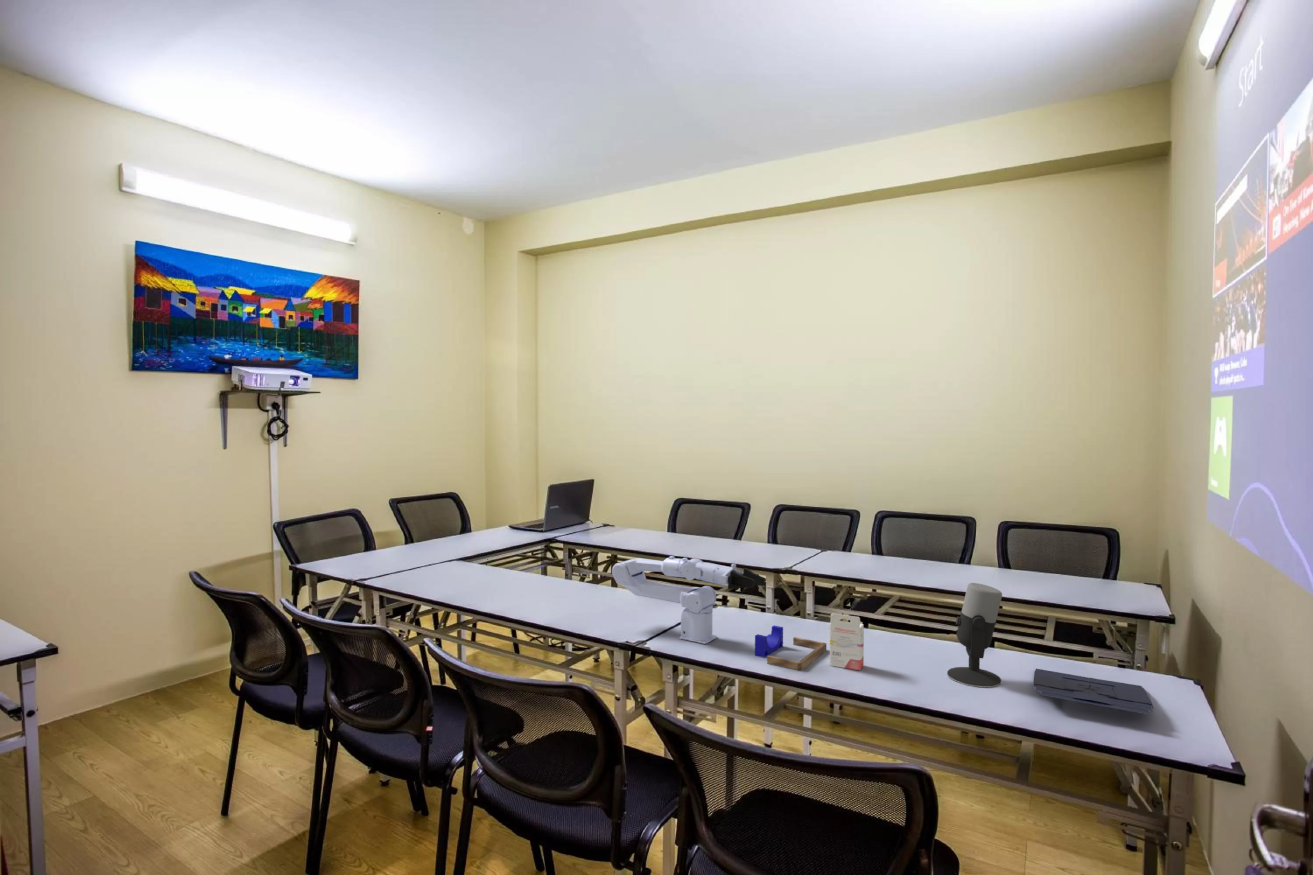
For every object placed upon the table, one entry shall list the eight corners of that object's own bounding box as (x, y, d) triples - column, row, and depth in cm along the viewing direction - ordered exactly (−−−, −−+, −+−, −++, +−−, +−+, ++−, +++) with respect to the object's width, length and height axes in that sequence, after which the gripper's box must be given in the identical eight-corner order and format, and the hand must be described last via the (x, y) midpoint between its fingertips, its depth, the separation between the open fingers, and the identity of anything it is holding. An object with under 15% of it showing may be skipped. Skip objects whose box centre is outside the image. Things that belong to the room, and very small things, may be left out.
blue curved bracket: (769, 643, 209) (769, 624, 209) (782, 646, 206) (783, 627, 206) (750, 654, 200) (750, 634, 199) (764, 658, 197) (764, 637, 197)
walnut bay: (767, 663, 192) (767, 656, 192) (794, 643, 209) (794, 636, 209) (801, 670, 187) (801, 663, 187) (826, 649, 203) (826, 643, 203)
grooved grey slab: (1031, 705, 162) (1032, 689, 162) (1034, 678, 188) (1034, 664, 188) (1158, 728, 150) (1158, 711, 150) (1142, 696, 176) (1142, 682, 176)
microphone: (1006, 689, 174) (1008, 592, 173) (951, 684, 177) (953, 588, 177) (995, 671, 187) (996, 580, 186) (943, 666, 190) (945, 577, 189)
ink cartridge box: (864, 665, 191) (864, 612, 190) (860, 671, 187) (861, 617, 186) (833, 659, 195) (833, 608, 194) (829, 665, 191) (829, 613, 190)
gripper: (708, 562, 203) (750, 570, 196) (730, 560, 215) (770, 567, 208) (706, 586, 203) (747, 595, 196) (727, 582, 215) (767, 590, 208)
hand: (759, 582), depth 202 cm, fingers open, 7 cm apart
